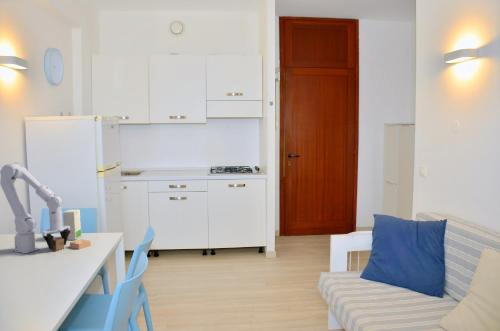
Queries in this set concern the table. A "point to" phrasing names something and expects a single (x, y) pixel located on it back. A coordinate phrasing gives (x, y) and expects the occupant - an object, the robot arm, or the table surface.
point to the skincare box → (73, 223)
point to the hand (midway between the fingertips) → (57, 246)
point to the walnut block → (58, 244)
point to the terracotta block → (80, 244)
